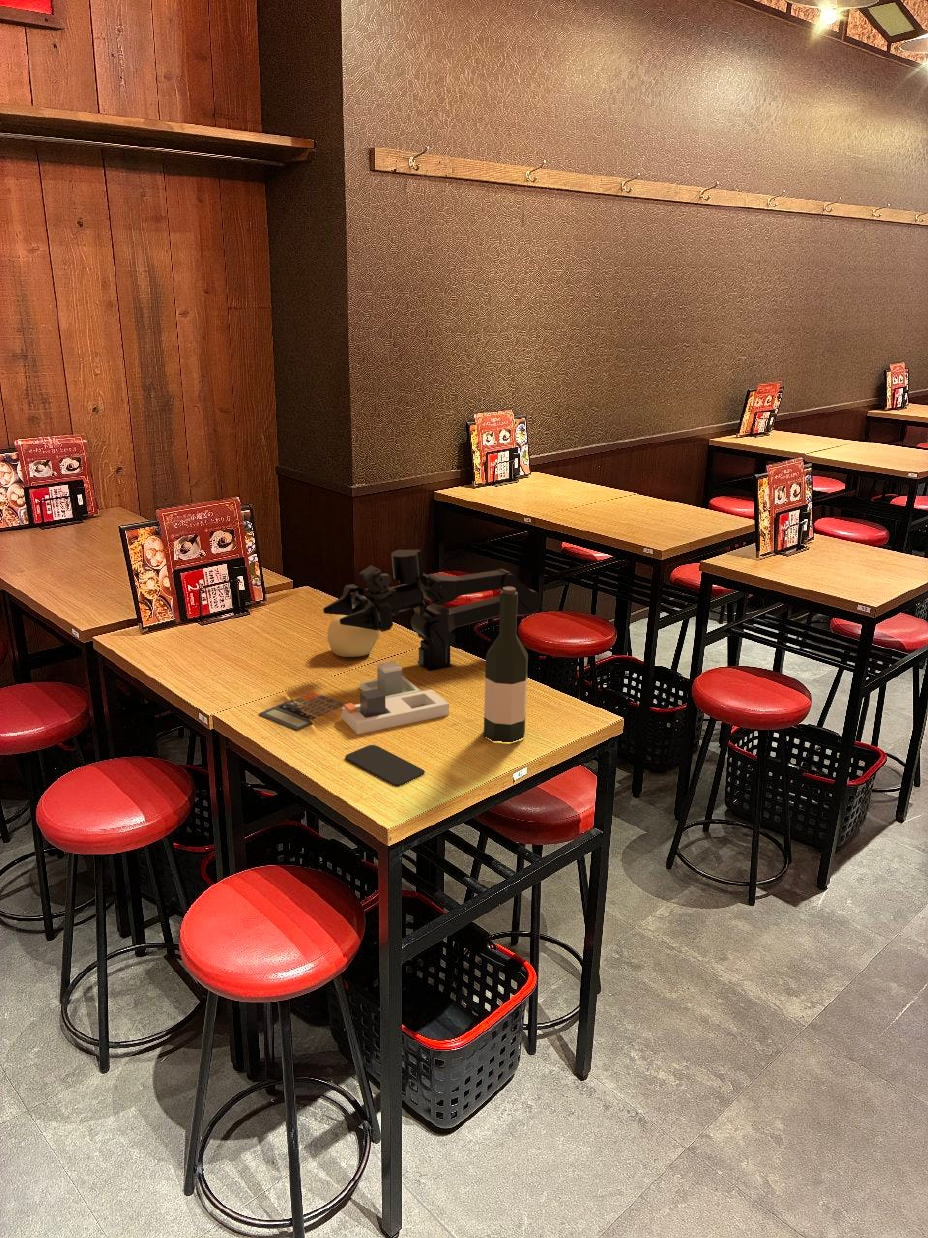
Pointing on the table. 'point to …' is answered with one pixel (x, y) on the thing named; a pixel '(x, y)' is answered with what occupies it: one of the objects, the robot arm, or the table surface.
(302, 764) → the table surface
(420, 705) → the power strip
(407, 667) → the table surface
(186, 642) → the table surface
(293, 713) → the calculator
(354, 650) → the beige round lump
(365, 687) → the tray
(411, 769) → the phone
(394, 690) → the plug
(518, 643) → the wine bottle
